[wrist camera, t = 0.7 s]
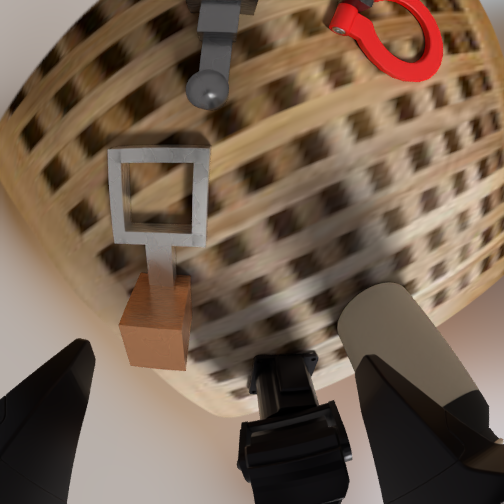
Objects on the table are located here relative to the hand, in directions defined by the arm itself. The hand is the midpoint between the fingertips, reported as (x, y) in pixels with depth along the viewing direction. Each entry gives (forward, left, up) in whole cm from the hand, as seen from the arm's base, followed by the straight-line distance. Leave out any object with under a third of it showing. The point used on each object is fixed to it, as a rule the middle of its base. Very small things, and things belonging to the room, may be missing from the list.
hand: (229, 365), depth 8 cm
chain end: (-2, +4, -13) cm, 14 cm away
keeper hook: (+11, +1, -13) cm, 17 cm away
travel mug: (-9, -15, -13) cm, 21 cm away
